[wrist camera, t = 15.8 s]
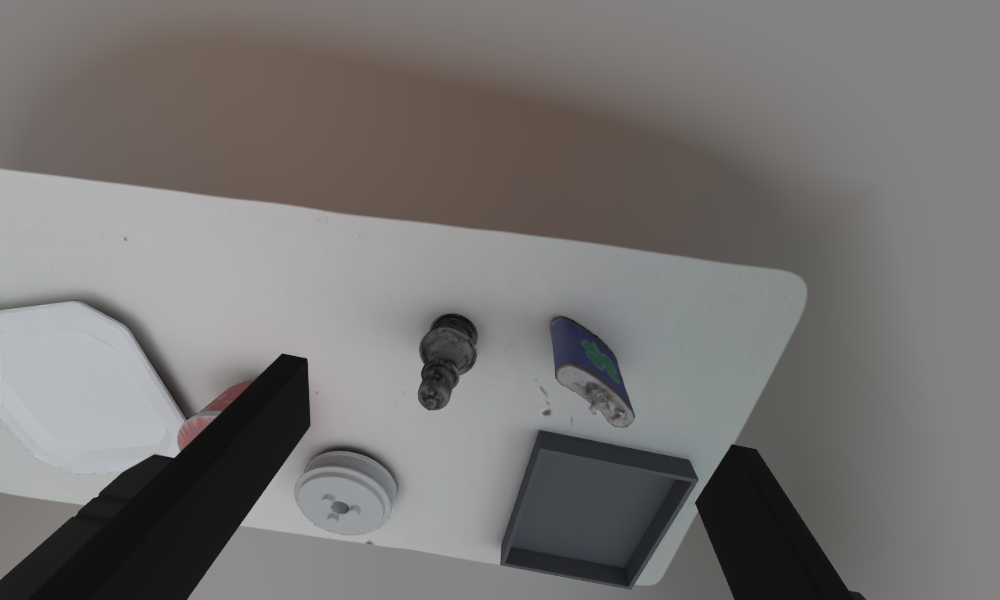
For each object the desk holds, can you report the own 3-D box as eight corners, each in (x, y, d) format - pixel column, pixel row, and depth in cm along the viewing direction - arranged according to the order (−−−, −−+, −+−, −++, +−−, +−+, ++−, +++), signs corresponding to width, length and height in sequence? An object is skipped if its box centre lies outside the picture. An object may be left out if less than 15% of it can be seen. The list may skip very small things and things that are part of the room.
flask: (544, 326, 41) (550, 390, 32) (564, 308, 40) (576, 369, 31) (604, 375, 44) (627, 448, 34) (624, 359, 43) (653, 430, 33)
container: (250, 438, 51) (205, 491, 44) (213, 373, 47) (157, 420, 40) (324, 432, 50) (290, 486, 43) (293, 365, 46) (250, 412, 38)
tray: (539, 430, 48) (540, 448, 45) (689, 460, 48) (699, 479, 46) (501, 544, 58) (500, 565, 55) (626, 568, 58) (631, 589, 56)
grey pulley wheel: (416, 494, 54) (406, 529, 50) (347, 519, 57) (331, 554, 53) (361, 432, 50) (344, 464, 45) (288, 463, 53) (266, 496, 48)
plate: (-62, 313, 46) (-89, 322, 44) (122, 289, 43) (102, 298, 41) (67, 465, 56) (50, 478, 54) (223, 454, 53) (211, 467, 51)
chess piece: (487, 322, 42) (474, 395, 31) (470, 364, 44) (451, 445, 33) (435, 303, 41) (403, 370, 30) (420, 347, 44) (385, 423, 33)
